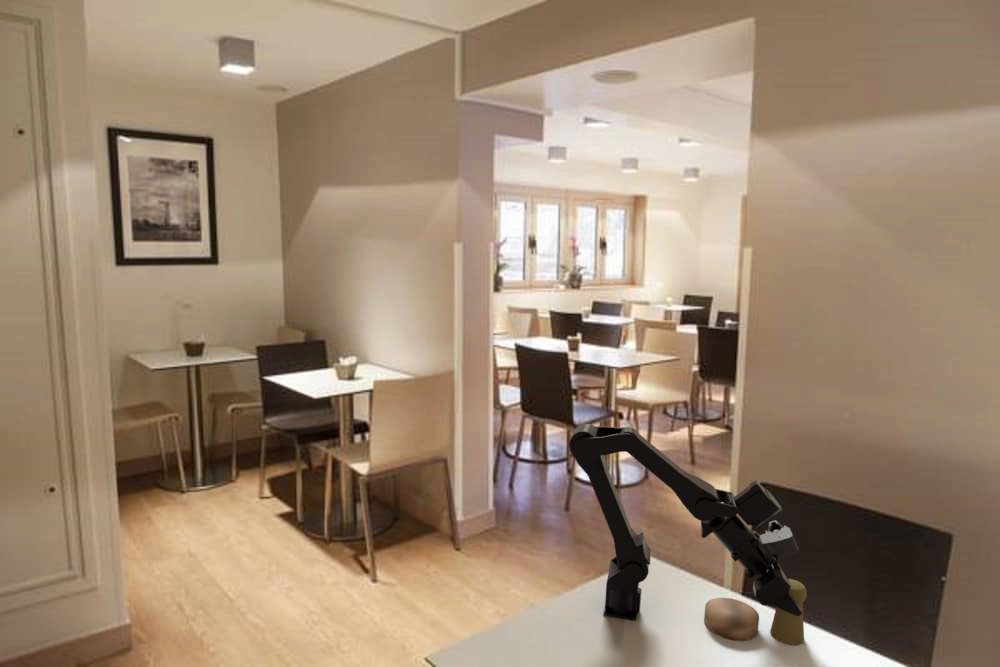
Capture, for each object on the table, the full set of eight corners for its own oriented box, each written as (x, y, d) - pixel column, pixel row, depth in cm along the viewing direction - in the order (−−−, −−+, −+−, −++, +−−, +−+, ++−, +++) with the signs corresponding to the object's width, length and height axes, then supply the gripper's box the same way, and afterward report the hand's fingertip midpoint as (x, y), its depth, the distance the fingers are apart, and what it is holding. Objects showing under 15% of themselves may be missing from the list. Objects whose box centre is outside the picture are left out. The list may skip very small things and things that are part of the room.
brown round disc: (704, 634, 125) (705, 620, 125) (703, 607, 135) (704, 594, 135) (760, 645, 123) (761, 630, 122) (755, 616, 132) (756, 603, 132)
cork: (807, 647, 122) (813, 593, 121) (773, 642, 124) (779, 588, 122) (799, 629, 128) (805, 576, 127) (767, 624, 130) (772, 572, 128)
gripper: (781, 535, 115) (844, 604, 114) (764, 496, 133) (818, 555, 132) (731, 571, 118) (791, 638, 117) (721, 528, 136) (773, 586, 135)
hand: (795, 601), depth 125 cm, fingers open, 9 cm apart
